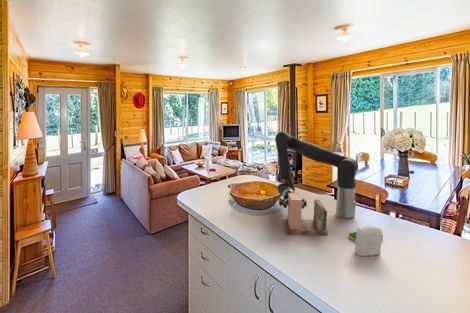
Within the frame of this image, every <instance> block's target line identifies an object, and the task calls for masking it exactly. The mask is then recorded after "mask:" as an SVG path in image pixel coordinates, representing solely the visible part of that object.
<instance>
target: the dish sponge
mask: <svg viewBox="0 0 470 313" xmlns="http://www.w3.org/2000/svg"><path fill="white" fill-rule="evenodd" d="M356 233H357V231H355V232H350V233H349V232H348V238H349V239H350V240H352V241H353V242H355V243H356ZM383 238H384V235H383V234H382V240H383Z"/></svg>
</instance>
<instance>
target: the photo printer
mask: <svg viewBox="0 0 470 313" xmlns="http://www.w3.org/2000/svg"><path fill="white" fill-rule="evenodd" d="M356 232H357V233H356V242H355V246H354V253H355V255H357V256H359V257H365V256H378V255H380V254H381V249H382V235H383V230H382V227H380V226H377V225H373V224H372V225H371V224H370V225H369V224H367V225H362V226H360V227H358V228H357V229H356Z"/></svg>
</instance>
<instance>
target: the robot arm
mask: <svg viewBox="0 0 470 313" xmlns="http://www.w3.org/2000/svg"><path fill="white" fill-rule="evenodd" d="M274 141H275V146H276V152H277V156H278V168H279V169H278V170H279V178H280V180H283V181H287V182H286V183H285V182H282V183H279V184H278V185H277V192H278V194H279V196H282V198H281V197H279V198H278V205H279V207H283V208H284V209H288V193H296V191H295V190H296V188H295V185H294V182H293V179H292V169H291V163H290V159H289V154H288V149H290V150H292V151H295V152H297V153H298V154H300V155H302V156H303V157H306V158H307V159H309V160H312V161H314V162H317V163H321V164H325V165H326V164H327V165H330V166H333V167H335V168H337V173H336V179H337V180H336V182H337V190H336V191H337V194H336V210H335V215H336V216H337V217H339V218H341V219H342V218H343V219H351V218H352V219H353V218H355V217H356V202H357V201H356V199H355V198H356V197H355V196H356V184H357V183H356V181H355V180H356V178H355V177H356V172H357V171H358V169H359V163H358V161H356V159H354V158H351V157H348V156H345V155H341V154H338V153H335V152H333V151H331V150H330V149H326V148H324V147H322V146H320V145H317V144H314V143H312V142H310V141H309V142H308V141H305V140H301V139H298V138H296V137H294V136H292V135H291V134H289V133H288V132H285V131H280V132H279V131H278V133H277V134H276V135H275V138H274ZM301 199H302V209H301V210H304V208H305V207H308V205H307V202H308V201H307V200H306V199H305V198H303V197H302V198H301Z"/></svg>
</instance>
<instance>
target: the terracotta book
mask: <svg viewBox="0 0 470 313" xmlns="http://www.w3.org/2000/svg"><path fill="white" fill-rule="evenodd" d="M302 210H303V209H302V198H301V196H300V194H299V193H298V192H295V193H288V206H287V219H288V223H289V226H290V229H301V219H302Z"/></svg>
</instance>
